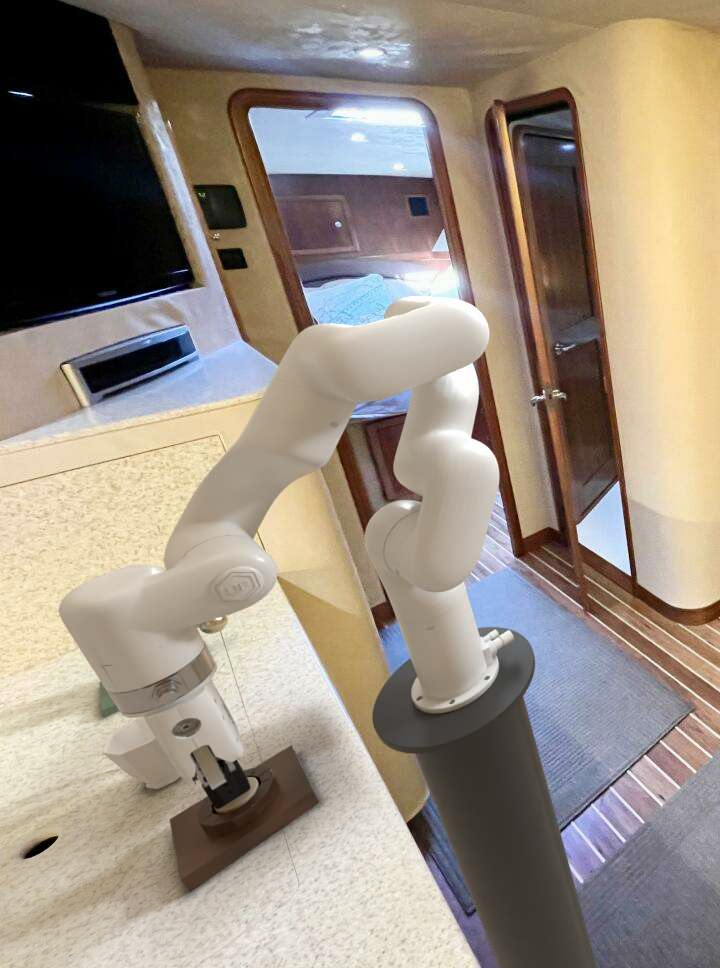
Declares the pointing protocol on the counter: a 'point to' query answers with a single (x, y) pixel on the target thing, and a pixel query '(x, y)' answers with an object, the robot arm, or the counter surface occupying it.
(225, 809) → the button
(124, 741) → the cup
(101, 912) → the counter surface
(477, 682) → the robot arm
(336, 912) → the counter surface
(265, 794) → the button box
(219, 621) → the lever
